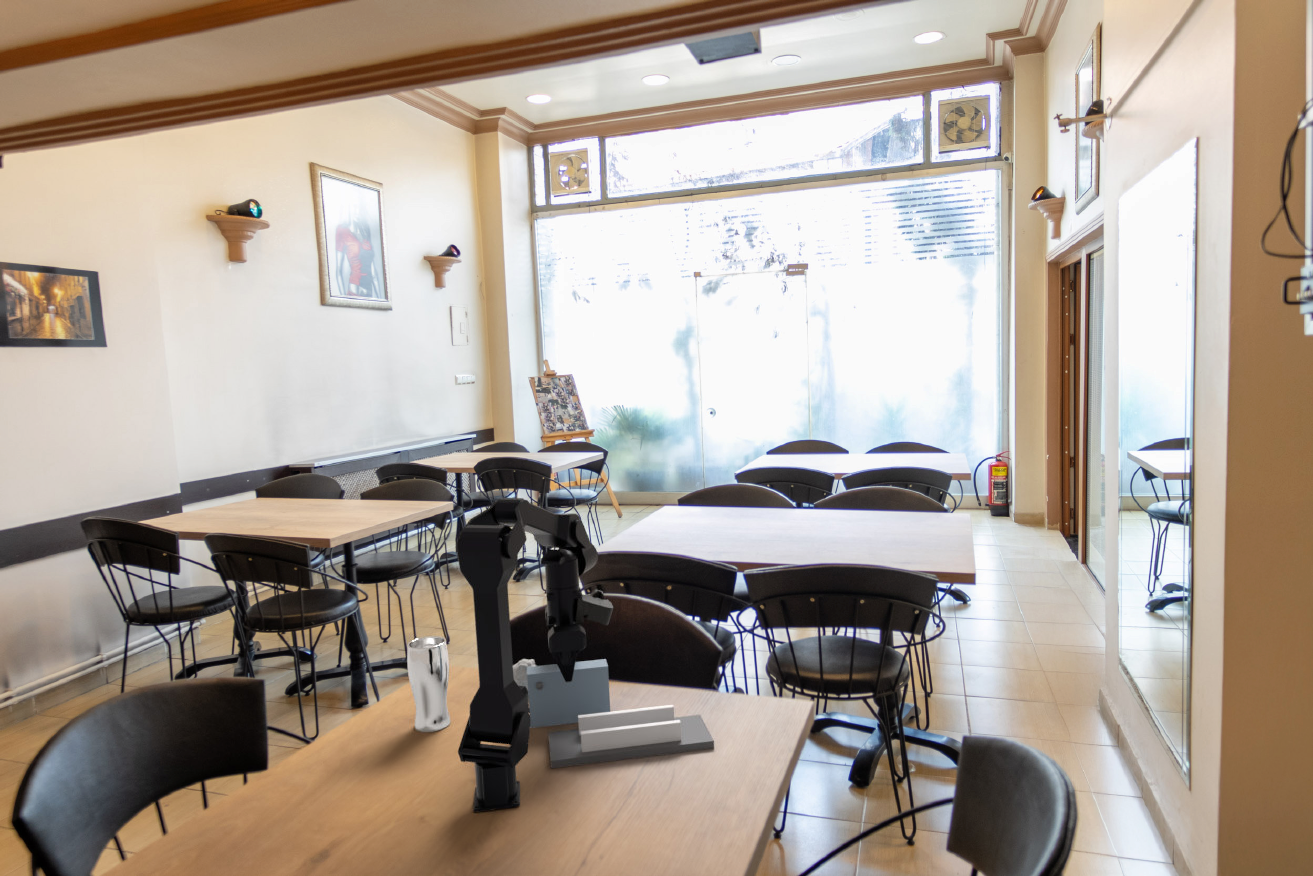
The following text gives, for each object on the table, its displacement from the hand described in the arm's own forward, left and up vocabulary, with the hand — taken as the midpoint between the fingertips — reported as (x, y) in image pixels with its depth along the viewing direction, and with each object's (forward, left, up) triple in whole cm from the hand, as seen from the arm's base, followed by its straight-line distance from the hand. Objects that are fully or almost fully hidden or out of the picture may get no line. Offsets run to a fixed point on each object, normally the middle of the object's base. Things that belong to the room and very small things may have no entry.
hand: (567, 671), depth 141 cm
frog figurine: (+13, +8, -9) cm, 18 cm away
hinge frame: (-12, -9, -9) cm, 17 cm away
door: (0, 0, -9) cm, 9 cm away
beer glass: (+4, +24, -9) cm, 26 cm away
